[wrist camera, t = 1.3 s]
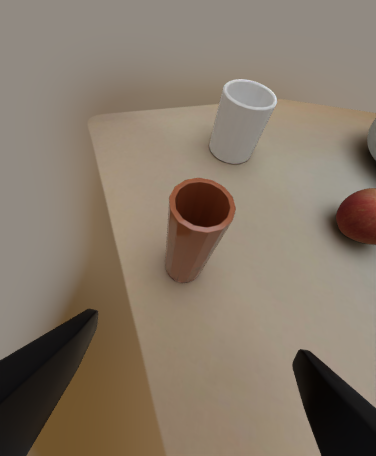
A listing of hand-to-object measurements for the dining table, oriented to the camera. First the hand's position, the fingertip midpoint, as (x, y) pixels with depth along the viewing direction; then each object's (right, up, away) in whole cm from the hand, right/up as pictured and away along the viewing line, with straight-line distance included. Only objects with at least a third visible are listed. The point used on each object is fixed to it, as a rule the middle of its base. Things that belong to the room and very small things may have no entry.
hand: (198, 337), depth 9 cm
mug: (+8, +21, +30) cm, 37 cm away
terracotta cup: (-1, 0, +16) cm, 16 cm away
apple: (+25, +4, +23) cm, 34 cm away
